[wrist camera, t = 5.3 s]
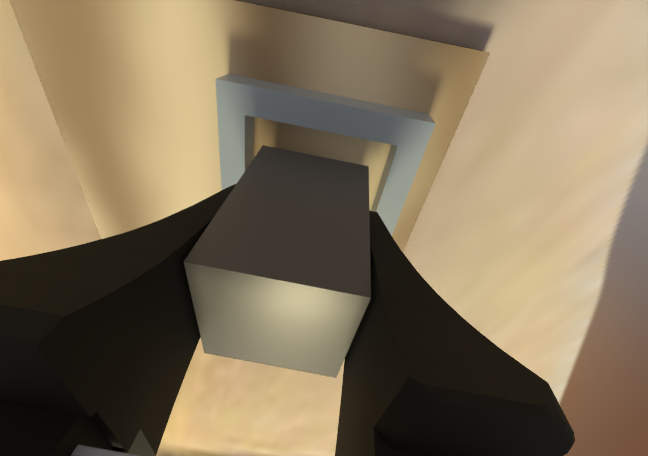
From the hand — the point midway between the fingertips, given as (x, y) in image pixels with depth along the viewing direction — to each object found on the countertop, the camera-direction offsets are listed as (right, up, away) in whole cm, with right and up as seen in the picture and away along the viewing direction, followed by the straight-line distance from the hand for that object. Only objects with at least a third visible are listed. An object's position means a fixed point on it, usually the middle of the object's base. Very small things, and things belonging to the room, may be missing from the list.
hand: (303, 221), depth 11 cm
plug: (0, -2, +4) cm, 5 cm away
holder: (0, +2, +2) cm, 3 cm away
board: (-3, 0, +5) cm, 6 cm away
